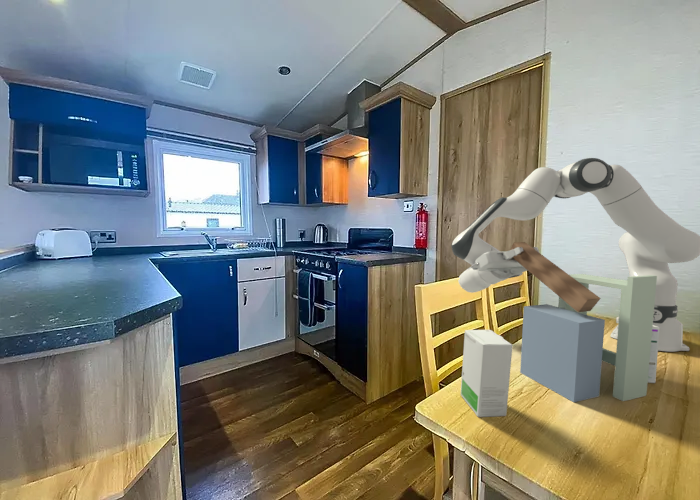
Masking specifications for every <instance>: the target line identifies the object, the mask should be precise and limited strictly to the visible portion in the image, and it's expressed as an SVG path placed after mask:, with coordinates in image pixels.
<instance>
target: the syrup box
mask: <svg viewBox="0 0 700 500" xmlns="http://www.w3.org/2000/svg"><path fill="white" fill-rule="evenodd" d="M658 342H659V327H657V326H654V325H653V327H652V338H651V349H650V360H649V371H648V383H649V384H656V379H657V367H658V353H659V350H658ZM648 383H647V384H648Z"/></svg>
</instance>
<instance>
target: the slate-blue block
mask: <svg viewBox="0 0 700 500" xmlns="http://www.w3.org/2000/svg"><path fill="white" fill-rule="evenodd" d="M522 315H523V316H522V317H523V318H522V335H521V337H522V338H521V350H520V351H521V352H520V354H521V355H520V371H519V372H520V374H521V375H524V376H525V377H527V378H529V379H531V380H533V381H535V382H537V383H538V384H540V385H542V386H544V387H545V388H547V389H549V390H551V391H552V392H555V393H556V394H559V395H560V396H562V397H563V398H565V399H567V400H569V401H571V402H573V403H577V402H581V401H585V400H590V399H594V398H598V397H600V389H601V376H602V365H603V364H602V363H603V361H602V352H603V348H604V337H605V324H606V320H605V319H602V318H600V317H595V316H592V315H588V314H587V315H585V314H581V313H578V312H574V311H570V310H566V309H563V308H559V307H558V306H555V305H551V304H547V303H546V304H535V305H526V306H523V314H522Z"/></svg>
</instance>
